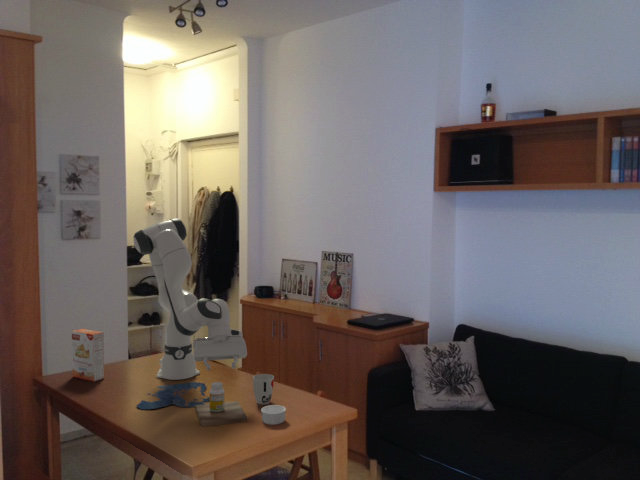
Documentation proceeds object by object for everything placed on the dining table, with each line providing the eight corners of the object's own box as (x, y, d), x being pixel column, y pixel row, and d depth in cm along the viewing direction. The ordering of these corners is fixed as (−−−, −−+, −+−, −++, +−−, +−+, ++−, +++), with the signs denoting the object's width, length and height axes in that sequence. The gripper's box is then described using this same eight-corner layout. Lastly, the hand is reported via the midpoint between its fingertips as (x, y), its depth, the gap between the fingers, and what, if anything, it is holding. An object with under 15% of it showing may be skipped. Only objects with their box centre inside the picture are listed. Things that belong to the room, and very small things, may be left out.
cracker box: (71, 377, 257) (70, 330, 256) (83, 374, 263) (82, 328, 261) (93, 382, 250) (92, 334, 249) (104, 378, 256) (104, 331, 254)
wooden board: (195, 409, 218) (195, 405, 218) (237, 404, 224) (237, 401, 223) (201, 426, 201) (201, 422, 201) (247, 421, 206) (247, 417, 206)
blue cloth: (204, 382, 251) (204, 381, 251) (211, 405, 224) (211, 403, 224) (138, 388, 244) (138, 386, 244) (137, 411, 216) (137, 409, 216)
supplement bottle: (213, 406, 217) (213, 380, 217) (227, 407, 216) (226, 382, 215) (207, 411, 212) (206, 385, 212) (220, 412, 211) (220, 386, 210)
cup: (262, 407, 221) (262, 381, 220) (248, 402, 226) (248, 377, 226) (278, 402, 227) (278, 376, 226) (264, 397, 232) (264, 372, 232)
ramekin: (277, 427, 201) (277, 415, 201) (256, 422, 206) (256, 410, 206) (290, 419, 209) (290, 407, 209) (270, 414, 214) (270, 403, 213)
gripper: (192, 334, 225) (192, 366, 216) (245, 331, 229) (248, 362, 220) (193, 343, 230) (193, 374, 221) (245, 339, 233) (247, 370, 225)
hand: (221, 368), depth 220 cm, fingers open, 8 cm apart
